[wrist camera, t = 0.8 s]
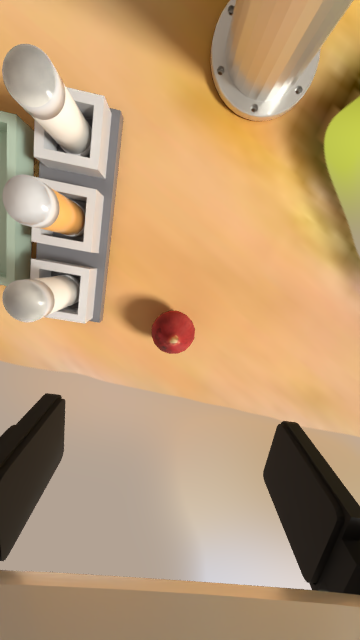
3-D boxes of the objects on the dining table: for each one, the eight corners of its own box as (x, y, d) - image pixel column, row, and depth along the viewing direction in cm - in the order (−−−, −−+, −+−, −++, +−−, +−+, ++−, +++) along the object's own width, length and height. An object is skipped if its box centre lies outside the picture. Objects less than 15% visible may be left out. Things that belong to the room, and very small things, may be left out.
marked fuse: (58, 200, 29) (2, 169, 20) (91, 206, 30) (52, 179, 20) (56, 233, 30) (2, 221, 21) (88, 239, 31) (49, 229, 21)
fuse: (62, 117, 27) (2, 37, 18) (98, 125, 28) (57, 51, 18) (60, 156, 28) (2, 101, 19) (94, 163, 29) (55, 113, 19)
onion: (171, 350, 36) (171, 374, 29) (145, 323, 35) (138, 341, 27) (199, 326, 36) (207, 344, 28) (174, 298, 34) (175, 308, 27)
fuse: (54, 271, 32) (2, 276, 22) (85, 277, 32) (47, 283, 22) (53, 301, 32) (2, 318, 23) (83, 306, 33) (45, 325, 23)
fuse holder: (48, 101, 28) (25, 72, 24) (123, 118, 29) (114, 92, 24) (40, 309, 34) (21, 317, 30) (102, 320, 35) (92, 328, 30)
